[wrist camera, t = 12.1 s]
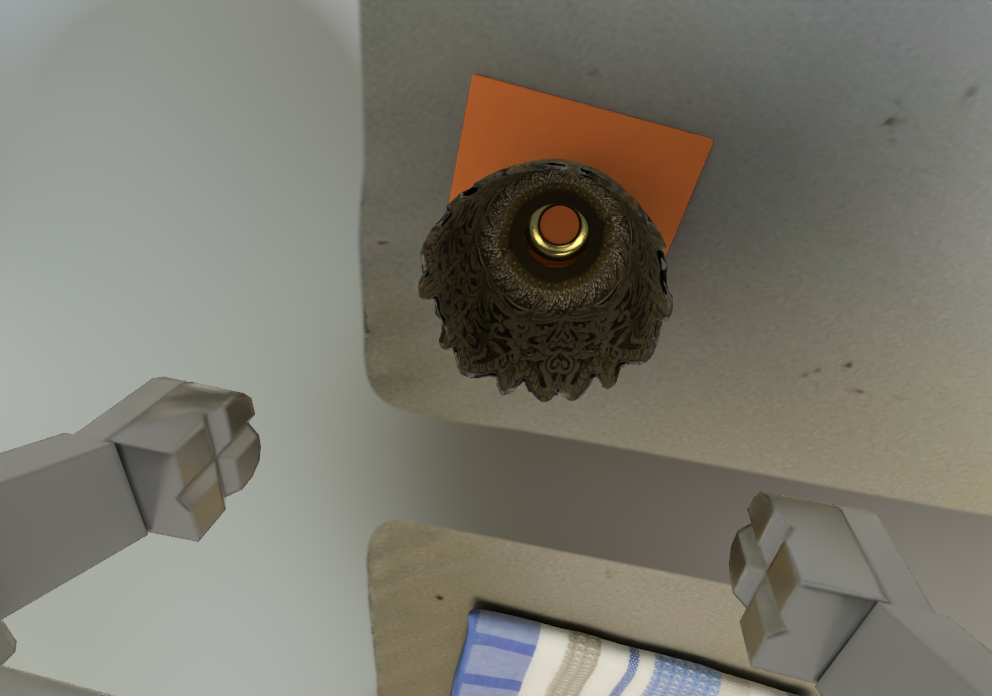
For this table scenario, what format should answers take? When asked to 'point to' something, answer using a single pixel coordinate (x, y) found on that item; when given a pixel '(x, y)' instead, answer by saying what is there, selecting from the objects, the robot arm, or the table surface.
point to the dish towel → (577, 665)
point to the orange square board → (578, 150)
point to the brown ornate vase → (546, 280)
